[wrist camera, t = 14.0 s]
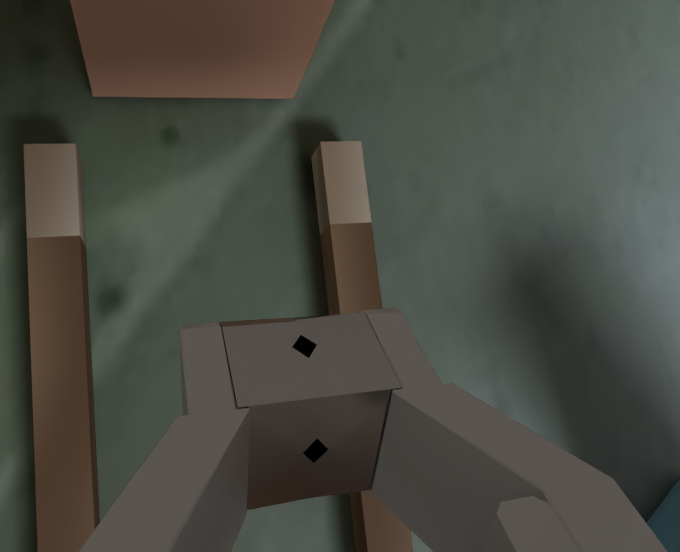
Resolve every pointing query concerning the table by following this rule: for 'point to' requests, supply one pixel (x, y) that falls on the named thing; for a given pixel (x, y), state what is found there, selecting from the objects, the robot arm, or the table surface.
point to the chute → (75, 343)
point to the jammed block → (198, 46)
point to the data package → (668, 520)
